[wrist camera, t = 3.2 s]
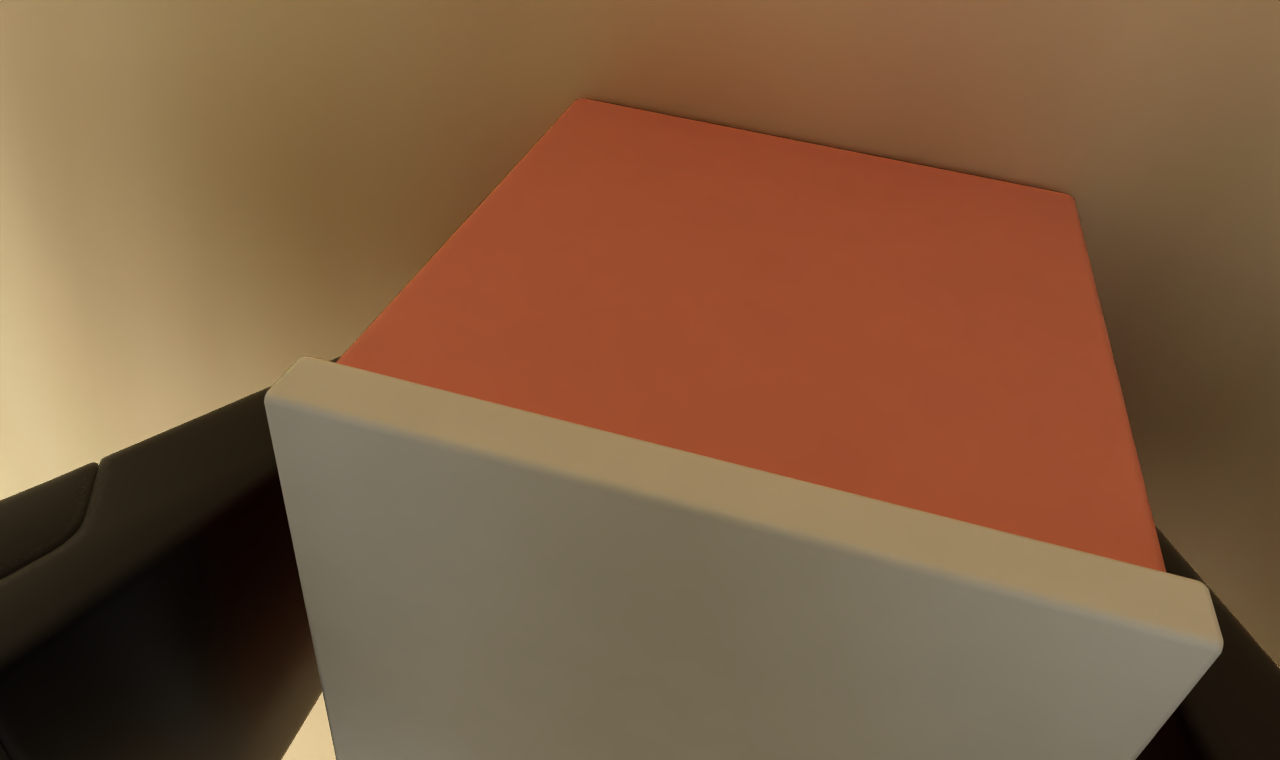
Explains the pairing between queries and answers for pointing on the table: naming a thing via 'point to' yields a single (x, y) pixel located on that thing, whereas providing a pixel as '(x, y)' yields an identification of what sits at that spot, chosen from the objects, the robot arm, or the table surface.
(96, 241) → the table surface
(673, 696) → the cream-topped orange box
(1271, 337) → the table surface
